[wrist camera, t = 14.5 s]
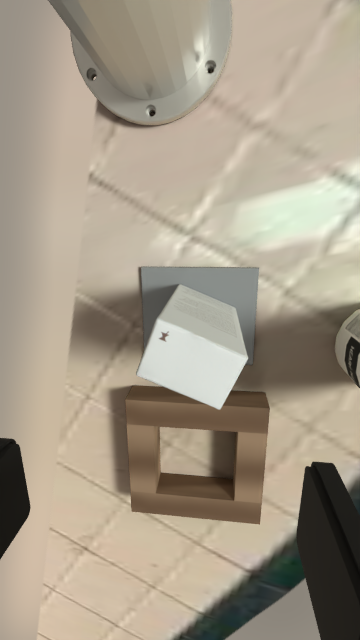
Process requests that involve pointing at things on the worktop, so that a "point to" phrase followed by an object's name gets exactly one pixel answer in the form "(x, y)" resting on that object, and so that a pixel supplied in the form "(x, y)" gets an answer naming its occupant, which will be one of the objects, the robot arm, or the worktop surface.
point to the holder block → (196, 491)
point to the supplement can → (349, 347)
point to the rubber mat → (211, 281)
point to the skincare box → (195, 348)
